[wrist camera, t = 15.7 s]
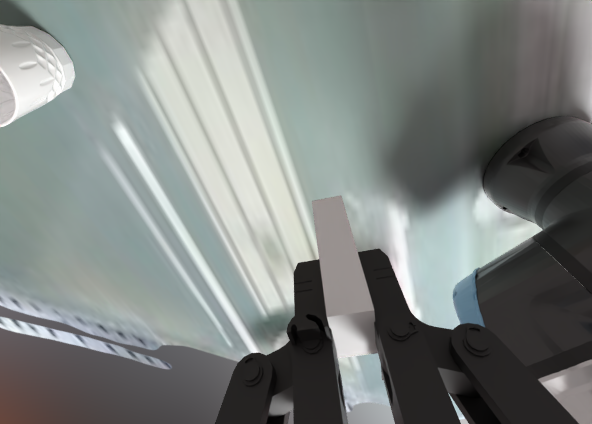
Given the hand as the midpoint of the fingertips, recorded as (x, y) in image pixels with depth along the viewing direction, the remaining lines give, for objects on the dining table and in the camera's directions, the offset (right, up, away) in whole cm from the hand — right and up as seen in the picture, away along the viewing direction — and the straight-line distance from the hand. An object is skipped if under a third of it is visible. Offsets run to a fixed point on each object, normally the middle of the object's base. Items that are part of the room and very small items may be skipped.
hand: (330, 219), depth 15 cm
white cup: (-30, +17, +17) cm, 39 cm away
